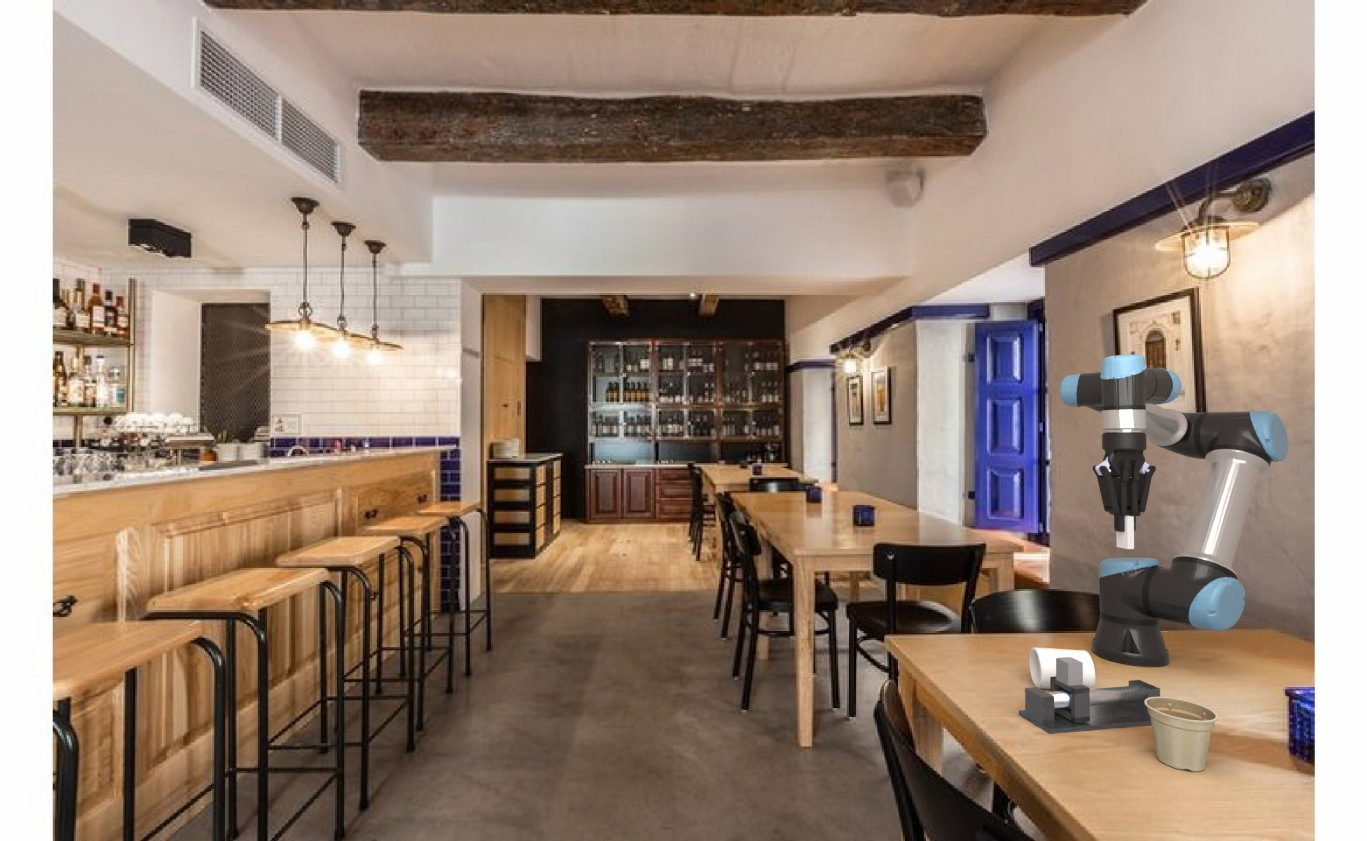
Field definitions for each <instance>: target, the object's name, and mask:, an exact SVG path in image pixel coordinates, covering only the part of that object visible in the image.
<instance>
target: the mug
mask: <svg viewBox="0 0 1367 841" xmlns="http://www.w3.org/2000/svg"><path fill="white" fill-rule="evenodd" d="M1062 657H1071V658H1074V659H1076V660H1078V661H1081V662H1083V685H1085V686H1087V687H1089V688H1090V689H1095V685H1096V669H1095V665H1094V661H1093V659H1092V657H1091V655H1090V653H1089V651H1087V650H1085V649H1084V650H1083V649H1069V648H1067V649H1066V648H1051V647H1050V648H1049V647H1036V646H1034V647H1032V648H1031V649H1030V652H1029V655H1028V658H1029V659H1028V660H1029V661H1028V663H1029V664H1028V666H1029V673H1030V677H1031V680H1032V683H1033V686H1034V687H1037V688H1039V689H1041V690H1043V689H1046V690H1050V677H1055V676H1056V658H1062Z"/></svg>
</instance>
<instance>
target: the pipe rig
mask: <svg viewBox="0 0 1367 841" xmlns="http://www.w3.org/2000/svg"><path fill="white" fill-rule="evenodd" d="M1150 697H1161V688H1160V687H1157V686H1156V685H1152V684H1150V683H1148V682H1146V681H1143V680H1140V679H1133V680H1131V679H1130V680H1128V685H1127V686H1125V685H1124V686H1111V687H1109V686H1108V687H1098V688H1097V687H1094V689H1090V722H1082V723H1074V722H1072V721H1071V720H1069V719H1067V718H1065V717H1063V716H1062V715H1060V714H1058V713H1056V712H1055V711H1054V709H1055V708H1065V709H1071V692H1070V691H1068V690H1066V689H1062V690H1060V691H1054V692H1050V691H1045V690H1043V689H1042V688H1037V687H1036V686H1033V687H1024V702H1025V703H1024V705H1025V706H1024V708H1025V709H1019V710H1018V716H1020V717H1021V718H1023V719H1025V720H1026V721H1029V723H1032V724H1034V725H1035V726H1036V727H1038V728H1039V729H1041V730H1043V731H1045V733H1048V734H1049V735H1051V734H1063V733H1065V734H1066V733H1073V732H1074V733H1075V732H1076V733H1077V732H1086V731H1087V732H1088V731H1098V730H1099V731H1100V730H1112V729H1122V728H1134V727H1144V726H1145V727H1146V726H1152V724H1151V718H1150V715H1149V713H1148V710H1147V707H1146V706H1145V704H1144V701H1145V699H1147V698H1150Z"/></svg>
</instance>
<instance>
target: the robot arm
mask: <svg viewBox="0 0 1367 841" xmlns="http://www.w3.org/2000/svg"><path fill="white" fill-rule="evenodd" d="M1100 368H1101V369H1100V372H1097V371H1096V372H1086V373H1085V372H1084V373H1082V372H1080V373H1077V374H1076V373H1075V374H1069V375H1067V376H1065V377H1064V378H1063V379H1062V380H1061V382H1060V385H1059V386H1060V387H1059V397H1060V399H1061V402H1062V403H1063V404H1064V405H1066V406H1068V407H1072V408H1073V407H1075V408H1081V407H1086V408H1089V409H1091V410H1093V411H1095V412H1097V413H1100V414H1101V429H1102V430H1104V431H1105V432H1103V433H1102V434H1101V449H1102V450H1103V451H1104V456H1103V459H1102V462H1101V463H1099V465H1093V466H1092V470H1093V473H1094V474H1095V476H1096V479H1097V483H1098V487H1099V493H1100V497H1101V500H1102V501H1101V502H1102V505H1103V509H1104V511H1105V513H1109V514H1110V515H1113V523H1114V524H1113V529H1114V531H1115V533H1116V548H1121V549H1124V550H1125V549H1126V550H1134V549H1135V532H1136V531H1137V518H1136V517H1140V516H1141V515H1142V513H1145V512H1146V508H1147V504H1148V500H1149V499H1148V498H1149V494H1150V489H1151V487H1150V486H1151V483H1152V477H1153V476H1154V474H1155V473H1156V470H1157V468H1156V465H1150V464H1148V463H1147V462H1146V457H1145V456H1144V451H1146V450H1147V440H1148V441H1149V442H1150V443H1152V445H1153V444H1154V445H1155V446H1157V447H1160V448H1162V449H1164V450H1166V451H1169V452H1172V453H1175V454H1178V455H1180V456H1184V457H1187V458H1192V459H1196V460H1197V459H1198V460H1205V461H1206V463H1207V464H1208V465H1209V466H1210V468H1209V471H1208V475H1207V478H1206V481H1205V483H1204V488H1203V490H1202V493H1201V497H1200V501H1199V503H1198V507H1197V509H1196V513H1195V516H1194V519H1193V522H1192V525H1191V529H1190V532H1189V535H1188V538H1187V541H1186V544H1185V547H1184V551H1183V553H1181V554H1179V555H1175V556H1174V557H1173V558H1172V561H1171V564H1170V567H1163V566H1160V563H1159V560H1158V559H1156V558H1153V557H1137V556H1135V557H1124V556H1123V557H1111V558H1110V557H1109V558H1106V559H1103V560H1102V561H1101V562H1100V564H1099V572H1098V573H1099V574H1098V581H1099V582H1098V583H1099V584H1098V585H1099V621H1098V624H1097V627H1096V630H1095V634H1094V637H1093V638H1092V640H1091V652H1092V653H1093V654H1094V655H1095V656H1097V657H1100V658H1103V659H1106V660H1109V661H1112V662H1116V663H1121V664H1124V665H1125V664H1126V665H1131V666H1139V667H1154V668H1155V667H1163V666H1167V665H1169V663H1170V653H1169V650H1168V648H1167V647H1166V644H1165V640H1164V637H1163V634H1162V631H1161V629H1160V620H1163V621H1167V622H1172V623H1175V624H1181V625H1185V626H1189V627H1194V628H1195V629H1199V630H1208V631H1213V632H1214V631H1215V632H1224V631H1226V630H1228V629H1231V628H1232V627H1234V626H1235V625H1236V623H1237V622H1238V621H1239V620H1240V618H1241V616H1242V614H1243V612H1244V608H1245V606H1246V600H1245V597H1246V590H1245V588H1244V585H1243V584H1242V582H1241V581H1239V580H1238V577H1239V576H1238V574H1237V573H1236V571H1235V570H1234V569H1233V567H1232V566H1233V563H1234V559H1235V556H1236V552H1237V550H1238V546H1239V542H1240V539H1241V535H1242V532H1243V529H1244V525H1245V522H1246V518H1247V514H1248V511H1249V508H1250V504H1251V501H1252V498H1253V494H1254V490H1255V488H1256V484H1257V482H1258V481H1257V480H1258V477H1261V476H1264V475H1266V474H1267V473H1268V472H1269V470H1270V468H1271V464H1272V462H1274V463H1278V462H1282V461H1284V460H1285V459H1286V458H1287V455H1288V451H1289V442H1288V441H1289V440H1288V434H1287V431H1286V427H1285V425H1284V422H1283V421H1282V419H1281V418H1280V416H1278V414H1276V413H1274V412H1272V411H1268V410H1261V411H1260V410H1253V409H1252V410H1250V411H1211V412H1209V411H1208V412H1203V411H1201V412H1183V411H1179V410H1178V409H1177V410H1176V409H1173V408H1165V407H1162V406H1160V405H1163V404H1169V403H1171V402H1173V401H1174V400H1175V399H1177V398H1178V397H1179V395H1180V394H1181V392H1182V388H1183V385H1182V380H1181V378H1180V376H1179V375H1178V374H1176V372H1174V371H1172V370H1169V369H1165V368H1163V367H1147V364H1146V358H1145V357H1144V356H1143V355H1141V354H1119V355H1111V356H1106V357H1105V358H1103V359H1102V361H1101V366H1100Z"/></svg>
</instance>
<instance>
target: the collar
mask: <svg viewBox="0 0 1367 841" xmlns="http://www.w3.org/2000/svg"><path fill="white" fill-rule="evenodd" d="M1062 689H1066V690H1068V691H1070V692H1071V709H1065V708H1055V709H1054V711H1055V712H1056V713H1058V714H1060V715H1062V716H1063V717H1065V718H1067V719H1069V720H1071V721H1072V722H1074V723H1082V722H1090V688H1089V687H1087V686H1085V685H1083V662H1081V661H1078V660H1076V659H1074V658H1071V657H1062V658H1056V676H1055V677H1050V689H1049V692H1054V691H1060V690H1062Z"/></svg>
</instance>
